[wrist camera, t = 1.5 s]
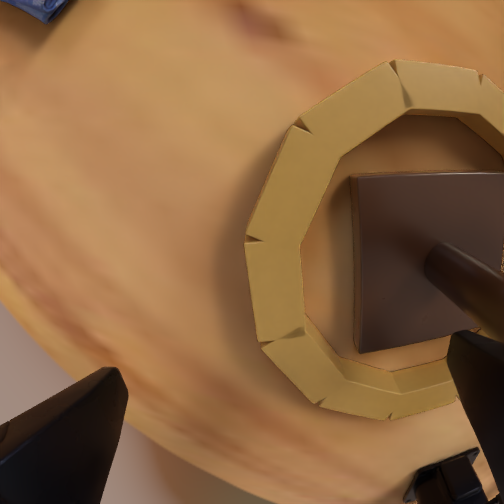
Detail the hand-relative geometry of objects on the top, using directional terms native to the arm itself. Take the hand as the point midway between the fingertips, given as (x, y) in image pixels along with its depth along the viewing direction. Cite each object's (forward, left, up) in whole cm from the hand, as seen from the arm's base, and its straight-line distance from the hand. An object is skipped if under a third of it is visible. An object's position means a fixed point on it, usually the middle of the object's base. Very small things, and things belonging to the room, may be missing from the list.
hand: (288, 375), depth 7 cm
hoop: (0, -7, -7) cm, 10 cm away
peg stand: (0, -7, -7) cm, 10 cm away
